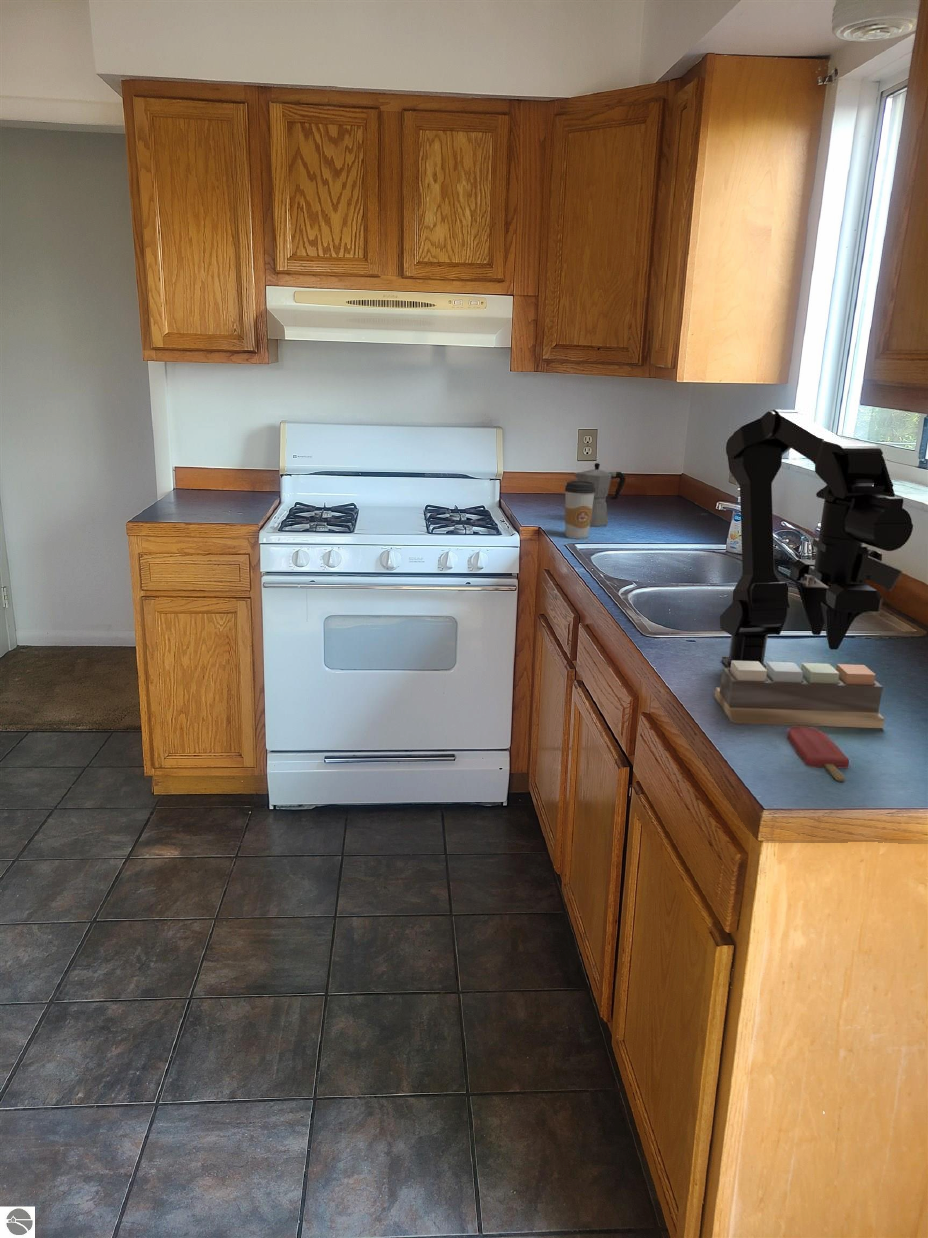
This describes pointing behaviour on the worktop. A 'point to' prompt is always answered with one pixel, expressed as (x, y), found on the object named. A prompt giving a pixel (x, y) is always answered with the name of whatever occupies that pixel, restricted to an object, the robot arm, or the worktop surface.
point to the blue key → (784, 672)
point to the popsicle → (818, 750)
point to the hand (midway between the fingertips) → (824, 641)
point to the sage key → (819, 673)
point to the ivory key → (748, 670)
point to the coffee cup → (578, 508)
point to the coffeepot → (601, 492)
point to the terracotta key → (855, 674)
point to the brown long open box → (800, 702)
